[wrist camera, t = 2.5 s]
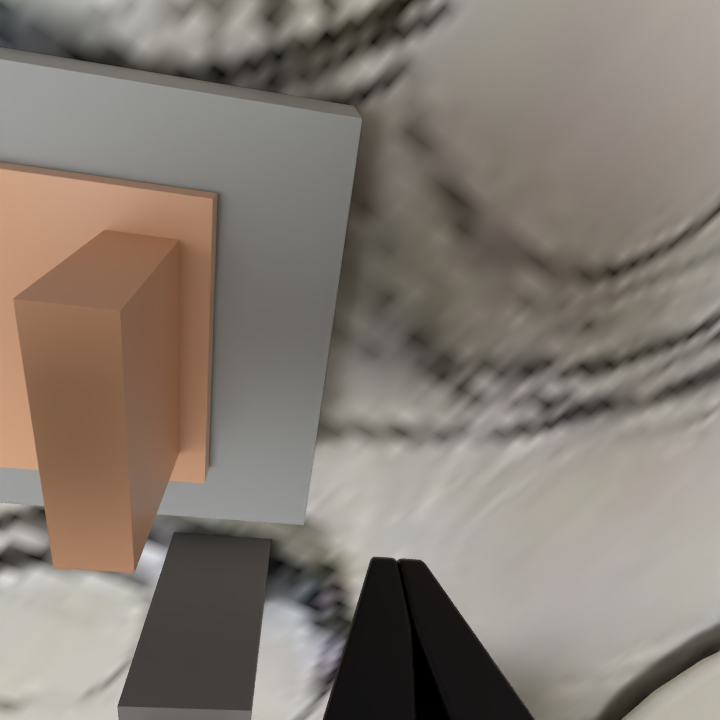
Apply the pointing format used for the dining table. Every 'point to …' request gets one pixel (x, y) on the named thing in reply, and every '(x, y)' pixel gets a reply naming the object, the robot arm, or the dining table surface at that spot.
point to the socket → (233, 248)
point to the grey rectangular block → (200, 632)
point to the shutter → (104, 351)
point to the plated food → (685, 695)
